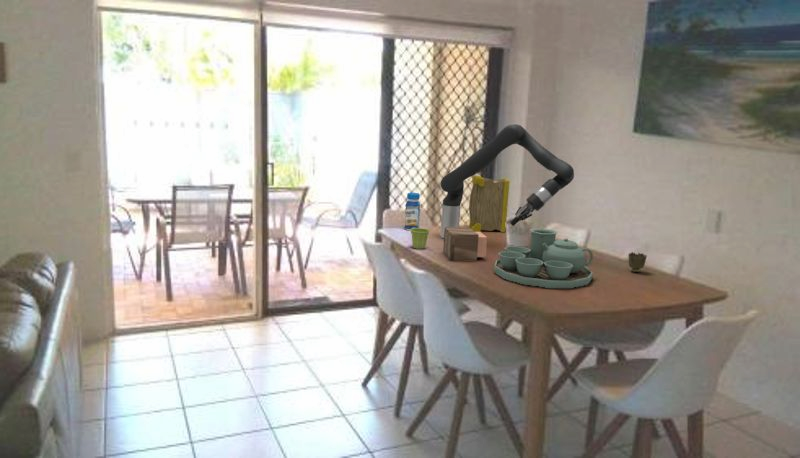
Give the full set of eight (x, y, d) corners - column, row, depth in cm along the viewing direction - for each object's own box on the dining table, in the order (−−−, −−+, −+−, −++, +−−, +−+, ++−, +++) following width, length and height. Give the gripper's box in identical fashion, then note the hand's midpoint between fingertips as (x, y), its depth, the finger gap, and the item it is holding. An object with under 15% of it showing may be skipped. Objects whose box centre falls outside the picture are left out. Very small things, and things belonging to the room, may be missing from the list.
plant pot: (429, 246, 301) (430, 228, 299) (428, 250, 291) (429, 232, 290) (410, 244, 301) (411, 227, 300) (408, 249, 292) (409, 231, 291)
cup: (644, 271, 271) (646, 253, 269) (645, 275, 264) (647, 256, 263) (626, 268, 273) (628, 251, 272) (626, 272, 266) (628, 254, 265)
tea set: (476, 266, 266) (479, 229, 263) (553, 261, 282) (557, 226, 278) (528, 293, 231) (532, 250, 227) (613, 286, 246) (618, 246, 243)
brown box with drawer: (443, 252, 289) (444, 227, 287) (468, 252, 291) (469, 227, 288) (450, 260, 273) (452, 234, 271) (476, 261, 275) (478, 234, 273)
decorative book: (502, 228, 353) (505, 176, 347) (506, 232, 342) (510, 178, 336) (467, 227, 351) (470, 175, 345) (470, 231, 340) (474, 177, 335)
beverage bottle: (422, 229, 340) (424, 193, 336) (412, 231, 334) (413, 194, 330) (411, 227, 345) (413, 191, 342) (400, 228, 339) (402, 192, 335)
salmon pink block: (458, 250, 288) (460, 231, 286) (478, 251, 289) (480, 231, 287) (464, 257, 276) (466, 236, 274) (485, 257, 277) (486, 237, 276)
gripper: (529, 190, 287) (501, 216, 288) (539, 194, 274) (510, 221, 275) (539, 202, 289) (512, 227, 290) (549, 206, 276) (521, 233, 277)
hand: (511, 224), depth 282 cm, fingers closed
